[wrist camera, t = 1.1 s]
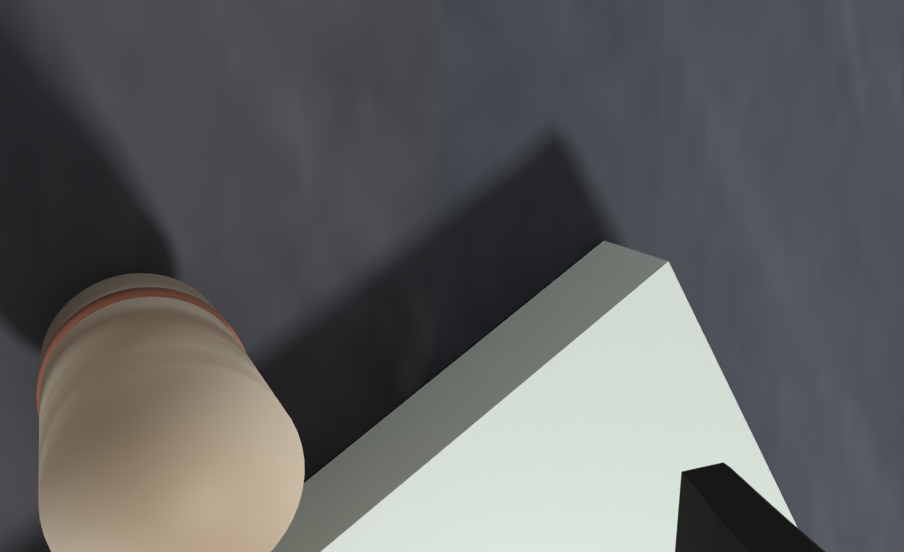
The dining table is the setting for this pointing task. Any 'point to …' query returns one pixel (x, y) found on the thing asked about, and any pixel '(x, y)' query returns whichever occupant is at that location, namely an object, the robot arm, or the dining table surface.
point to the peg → (159, 427)
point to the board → (546, 431)
